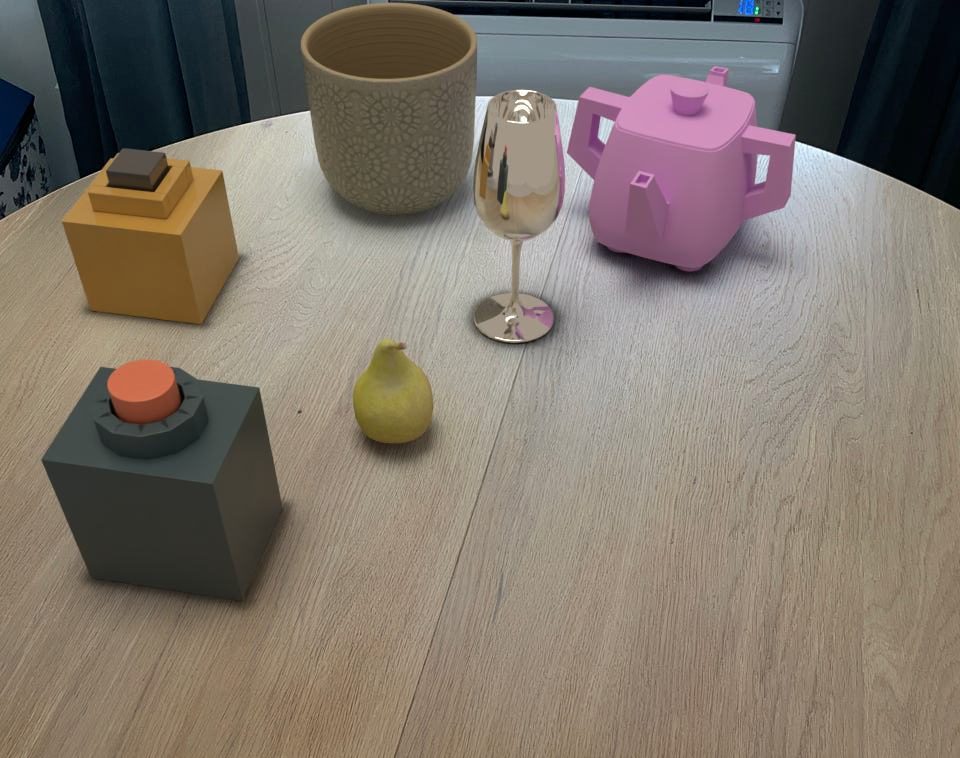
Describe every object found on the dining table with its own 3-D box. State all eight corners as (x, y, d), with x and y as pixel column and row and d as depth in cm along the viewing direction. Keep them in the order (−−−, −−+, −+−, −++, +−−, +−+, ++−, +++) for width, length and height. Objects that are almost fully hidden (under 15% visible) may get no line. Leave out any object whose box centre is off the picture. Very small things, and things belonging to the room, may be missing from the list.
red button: (104, 421, 72) (96, 396, 70) (129, 379, 74) (122, 355, 73) (167, 429, 71) (160, 405, 70) (190, 387, 74) (184, 363, 72)
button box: (90, 577, 81) (30, 436, 70) (140, 486, 87) (92, 343, 76) (242, 601, 80) (206, 461, 69) (282, 507, 86) (255, 364, 75)
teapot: (704, 174, 118) (730, 27, 106) (794, 263, 107) (834, 111, 95) (543, 209, 113) (552, 60, 101) (621, 305, 103) (641, 152, 91)
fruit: (418, 399, 94) (412, 279, 85) (449, 453, 90) (447, 333, 80) (345, 418, 92) (331, 297, 83) (374, 474, 88) (363, 354, 79)
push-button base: (90, 310, 102) (55, 202, 93) (134, 246, 108) (105, 139, 100) (201, 324, 100) (176, 215, 92) (239, 258, 107) (218, 151, 98)
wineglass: (455, 317, 101) (452, 103, 86) (515, 284, 105) (523, 73, 89) (511, 356, 98) (520, 140, 82) (572, 321, 101) (591, 108, 85)
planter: (308, 232, 110) (288, 78, 98) (328, 148, 120) (312, -1, 108) (473, 236, 110) (473, 82, 98) (479, 152, 120) (480, 3, 108)
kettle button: (110, 189, 95) (105, 170, 94) (127, 166, 97) (122, 147, 96) (153, 194, 95) (148, 175, 93) (169, 171, 97) (165, 152, 96)
